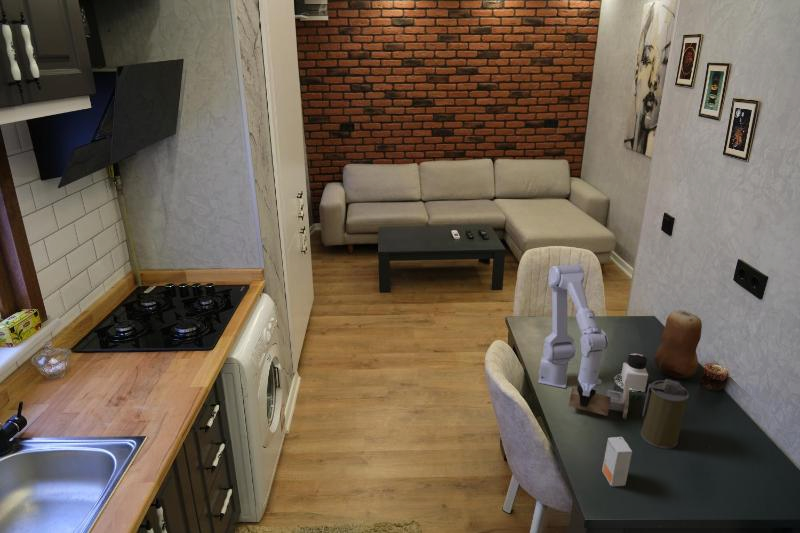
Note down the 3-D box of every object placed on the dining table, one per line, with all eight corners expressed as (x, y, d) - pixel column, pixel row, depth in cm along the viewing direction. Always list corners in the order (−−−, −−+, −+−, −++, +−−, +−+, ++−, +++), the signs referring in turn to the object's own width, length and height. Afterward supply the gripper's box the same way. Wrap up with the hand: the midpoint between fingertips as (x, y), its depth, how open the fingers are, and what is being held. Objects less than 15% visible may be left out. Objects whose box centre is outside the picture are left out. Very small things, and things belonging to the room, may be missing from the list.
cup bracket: (605, 407, 179) (607, 400, 177) (606, 396, 184) (607, 389, 183) (622, 411, 177) (624, 404, 176) (622, 400, 182) (624, 392, 181)
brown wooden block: (568, 405, 175) (571, 393, 173) (569, 400, 178) (572, 387, 176) (607, 415, 171) (610, 403, 169) (607, 409, 174) (610, 397, 172)
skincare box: (601, 471, 151) (607, 436, 147) (615, 470, 152) (622, 436, 147) (610, 487, 146) (617, 452, 141) (625, 486, 146) (633, 451, 142)
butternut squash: (689, 368, 202) (704, 308, 192) (697, 388, 190) (713, 325, 180) (649, 362, 205) (662, 303, 196) (655, 381, 193) (668, 319, 184)
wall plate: (622, 418, 174) (625, 402, 171) (622, 394, 186) (625, 379, 183) (625, 418, 173) (629, 403, 171) (625, 395, 185) (628, 380, 183)
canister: (675, 430, 168) (688, 376, 161) (679, 452, 159) (693, 395, 151) (637, 423, 171) (649, 369, 164) (640, 444, 162) (652, 388, 155)
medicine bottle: (645, 392, 187) (651, 363, 182) (623, 390, 188) (629, 360, 184) (640, 381, 193) (646, 352, 189) (620, 379, 195) (625, 350, 190)
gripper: (602, 381, 162) (596, 418, 167) (604, 357, 174) (598, 392, 179) (578, 376, 164) (572, 413, 169) (581, 353, 177) (576, 388, 182)
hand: (584, 402), depth 174 cm, fingers closed on brown wooden block, 3 cm apart
